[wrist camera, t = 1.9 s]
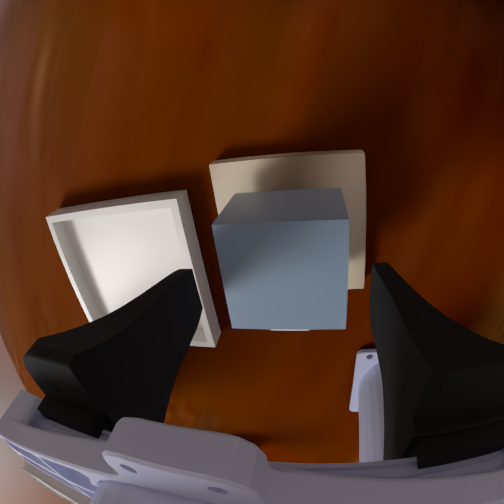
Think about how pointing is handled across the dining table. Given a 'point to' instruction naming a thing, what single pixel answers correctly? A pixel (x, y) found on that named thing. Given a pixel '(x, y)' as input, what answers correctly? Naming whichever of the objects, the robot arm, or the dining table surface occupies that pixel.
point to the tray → (131, 252)
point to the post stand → (303, 187)
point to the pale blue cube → (285, 259)
